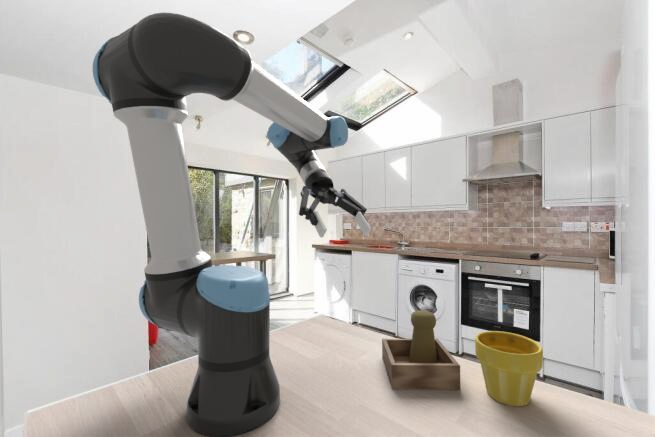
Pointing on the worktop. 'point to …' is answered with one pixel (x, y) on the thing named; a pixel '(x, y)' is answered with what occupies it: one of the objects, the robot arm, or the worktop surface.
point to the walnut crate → (419, 367)
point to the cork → (423, 338)
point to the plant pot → (508, 365)
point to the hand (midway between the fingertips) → (347, 233)
